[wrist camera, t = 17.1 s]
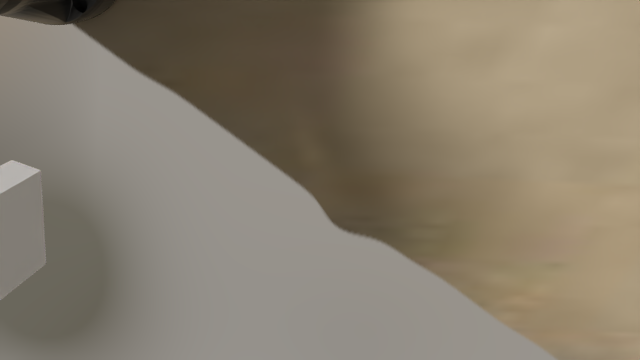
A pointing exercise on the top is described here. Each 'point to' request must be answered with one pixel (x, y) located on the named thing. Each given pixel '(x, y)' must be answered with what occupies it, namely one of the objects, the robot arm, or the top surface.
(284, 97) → the top surface
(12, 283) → the robot arm
